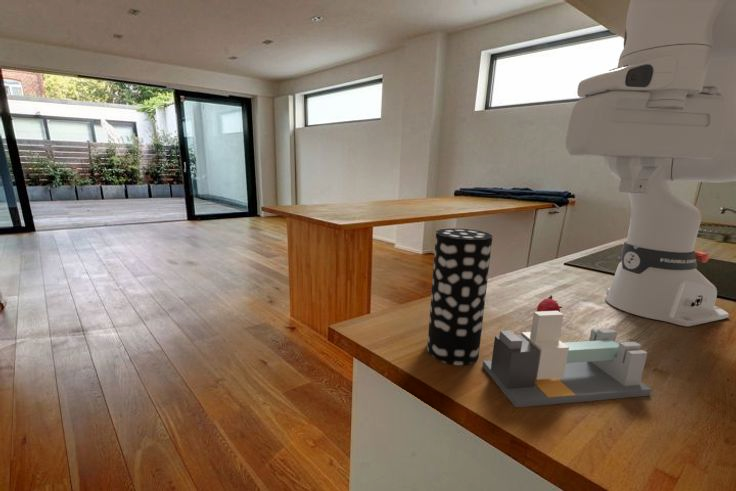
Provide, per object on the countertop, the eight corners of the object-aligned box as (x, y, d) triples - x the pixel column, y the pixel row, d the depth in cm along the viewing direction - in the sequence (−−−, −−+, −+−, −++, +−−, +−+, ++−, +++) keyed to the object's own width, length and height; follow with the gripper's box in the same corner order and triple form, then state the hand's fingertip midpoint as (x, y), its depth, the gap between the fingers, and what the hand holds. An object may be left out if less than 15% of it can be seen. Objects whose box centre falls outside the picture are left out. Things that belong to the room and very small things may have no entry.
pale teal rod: (608, 351, 51) (611, 339, 50) (620, 359, 49) (622, 346, 48) (509, 358, 48) (511, 345, 48) (517, 366, 46) (519, 353, 46)
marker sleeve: (541, 358, 51) (550, 305, 49) (563, 377, 46) (574, 320, 44) (517, 360, 50) (525, 306, 48) (536, 379, 46) (546, 321, 44)
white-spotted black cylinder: (424, 337, 60) (432, 227, 56) (471, 339, 60) (483, 229, 55) (431, 364, 52) (441, 238, 48) (485, 366, 52) (500, 240, 47)
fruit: (528, 320, 68) (531, 297, 67) (541, 313, 72) (545, 291, 71) (550, 328, 65) (554, 304, 64) (562, 320, 69) (566, 297, 68)
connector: (515, 367, 50) (521, 326, 49) (534, 386, 46) (541, 342, 44) (490, 369, 50) (495, 328, 48) (506, 389, 45) (513, 344, 44)
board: (597, 358, 55) (598, 352, 55) (649, 395, 46) (651, 388, 46) (482, 366, 52) (483, 360, 52) (515, 407, 43) (516, 400, 43)
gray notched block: (599, 356, 54) (605, 325, 52) (639, 384, 47) (648, 349, 46) (585, 357, 53) (592, 326, 52) (624, 386, 47) (632, 350, 45)
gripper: (699, 91, 47) (674, 191, 50) (567, 82, 44) (550, 189, 47) (755, 81, 41) (723, 195, 44) (607, 69, 38) (584, 193, 41)
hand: (633, 192), depth 46 cm, fingers closed
